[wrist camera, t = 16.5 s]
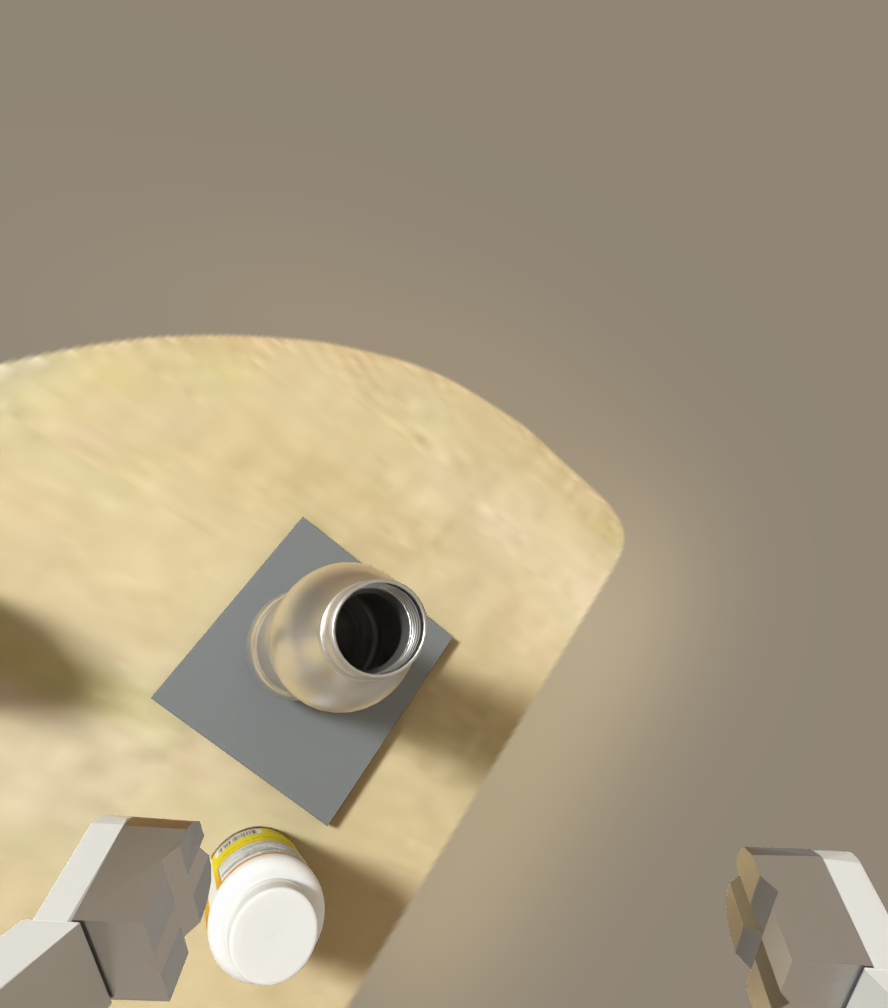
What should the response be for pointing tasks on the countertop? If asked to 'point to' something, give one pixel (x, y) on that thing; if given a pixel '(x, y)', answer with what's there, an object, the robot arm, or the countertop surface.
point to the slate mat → (279, 722)
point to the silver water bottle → (337, 638)
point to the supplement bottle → (262, 907)
